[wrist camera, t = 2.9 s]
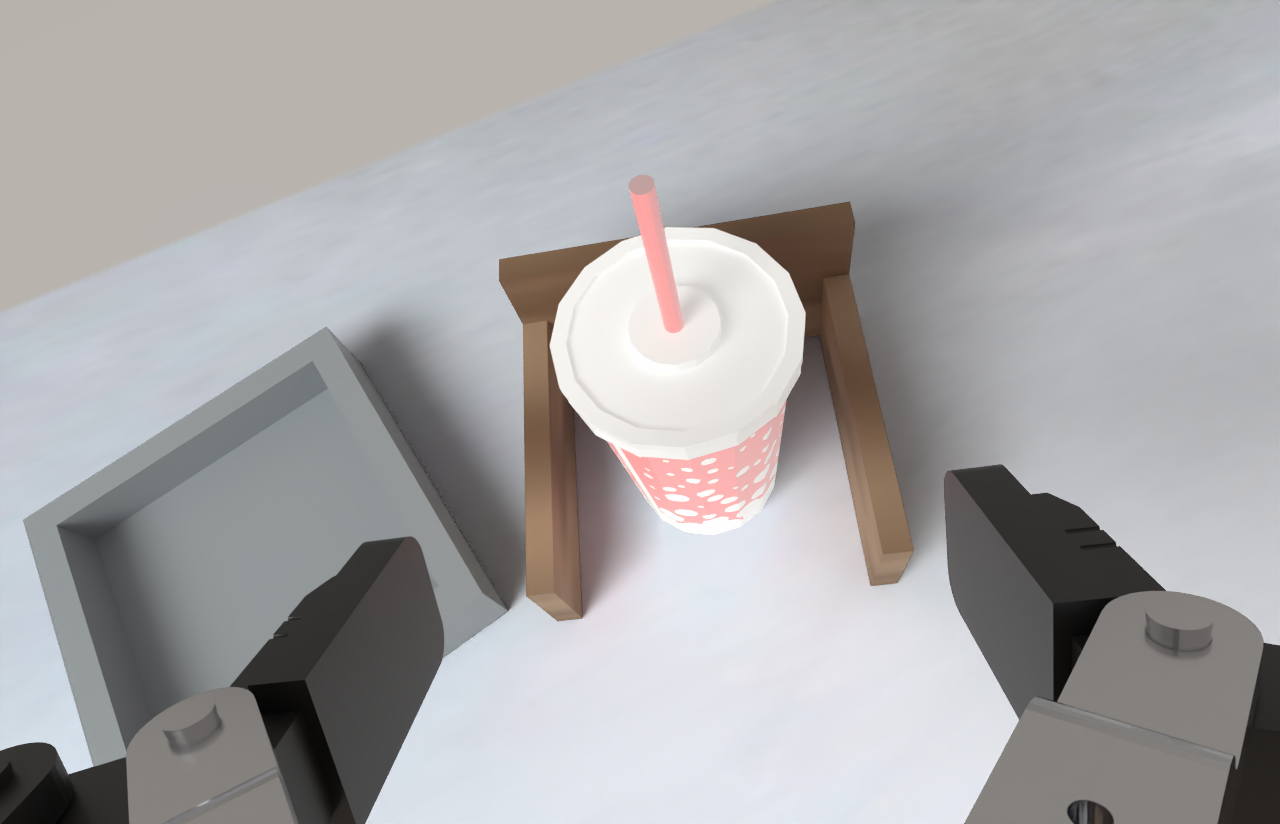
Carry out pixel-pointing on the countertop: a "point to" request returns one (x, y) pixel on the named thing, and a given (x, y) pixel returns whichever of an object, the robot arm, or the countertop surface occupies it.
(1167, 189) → the countertop surface
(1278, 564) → the countertop surface
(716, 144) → the countertop surface
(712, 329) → the beverage cup
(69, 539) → the grey tray
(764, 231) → the walnut bay
